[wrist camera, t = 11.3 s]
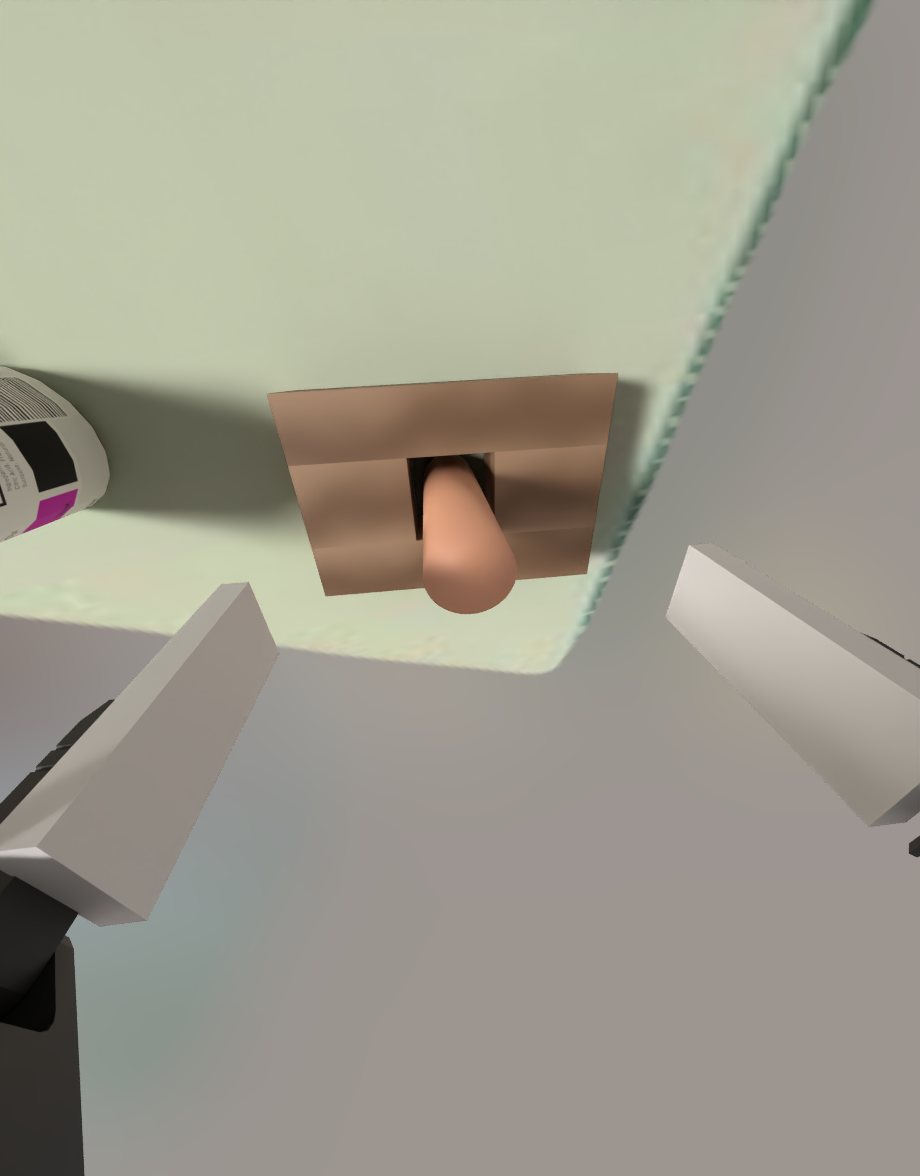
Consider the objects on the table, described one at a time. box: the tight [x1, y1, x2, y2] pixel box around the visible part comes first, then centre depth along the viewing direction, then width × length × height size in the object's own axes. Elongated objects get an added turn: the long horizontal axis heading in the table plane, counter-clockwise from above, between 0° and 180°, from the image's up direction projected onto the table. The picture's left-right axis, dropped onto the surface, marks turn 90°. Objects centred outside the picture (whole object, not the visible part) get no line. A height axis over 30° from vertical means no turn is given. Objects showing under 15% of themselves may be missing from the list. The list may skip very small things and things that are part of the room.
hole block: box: [267, 373, 618, 596], centre depth 23 cm, size 12×18×4 cm, turn 93°
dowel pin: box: [423, 455, 517, 614], centre depth 19 cm, size 4×4×14 cm
